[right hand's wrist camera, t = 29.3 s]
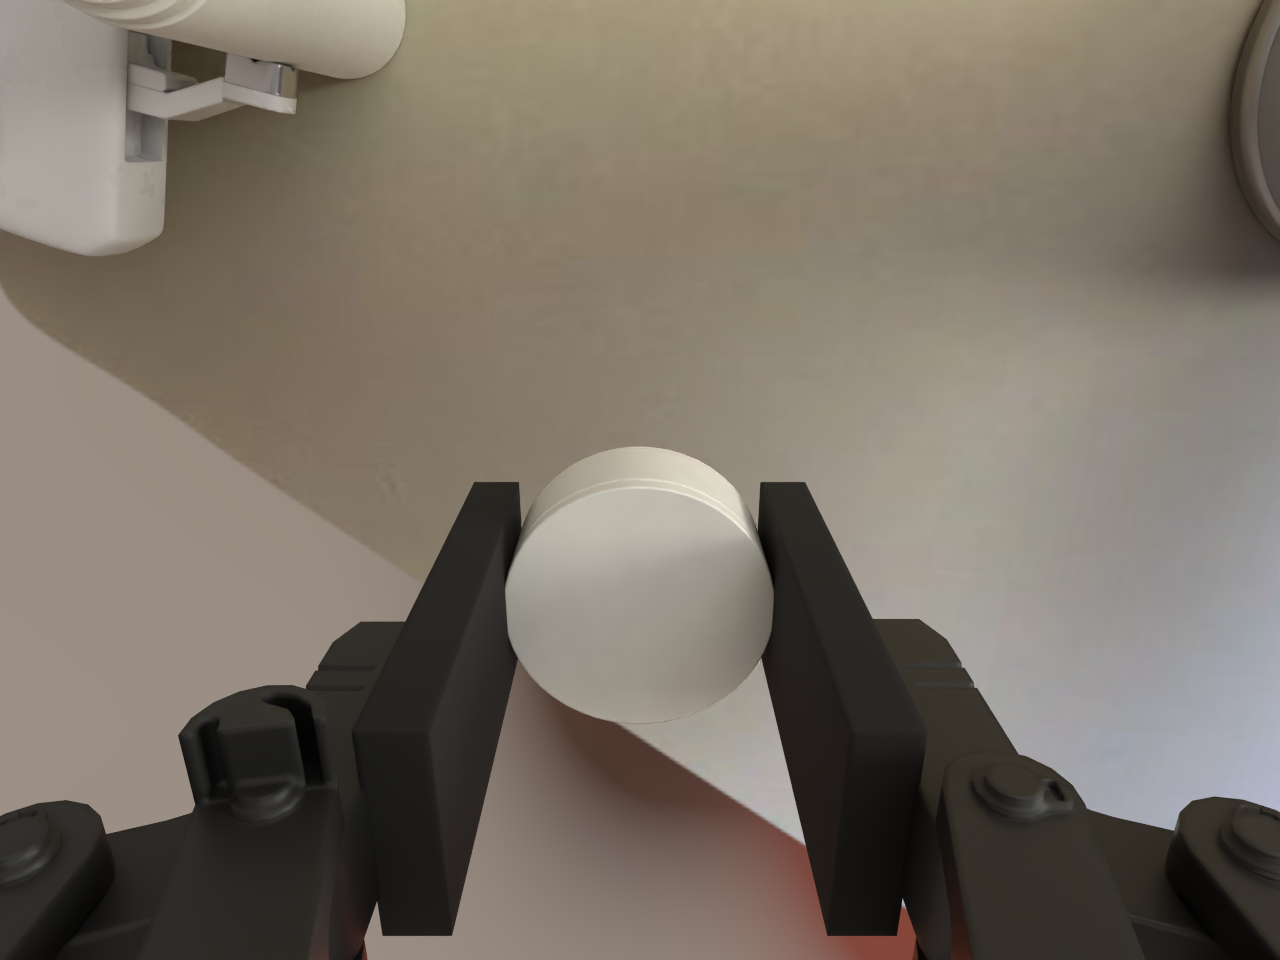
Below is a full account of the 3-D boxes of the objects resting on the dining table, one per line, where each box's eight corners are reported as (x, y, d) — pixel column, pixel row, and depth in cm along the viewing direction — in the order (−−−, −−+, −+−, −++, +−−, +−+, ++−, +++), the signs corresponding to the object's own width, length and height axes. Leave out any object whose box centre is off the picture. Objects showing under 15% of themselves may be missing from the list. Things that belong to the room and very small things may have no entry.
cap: (700, 404, 13) (710, 441, 12) (795, 608, 15) (815, 667, 13) (475, 505, 14) (453, 554, 12) (585, 692, 16) (578, 759, 14)
